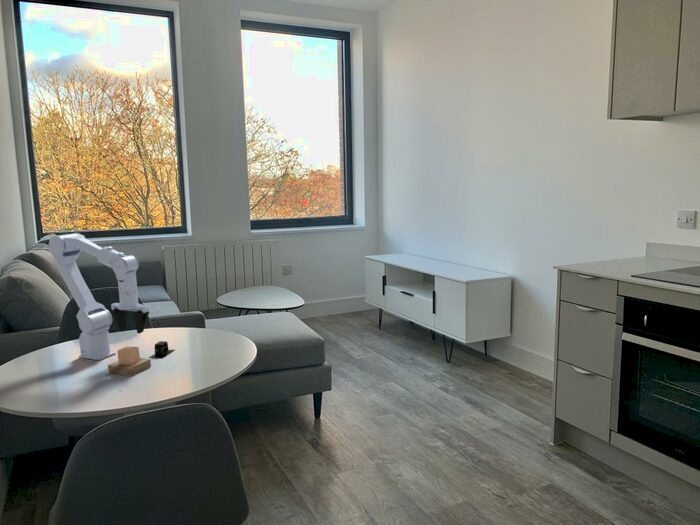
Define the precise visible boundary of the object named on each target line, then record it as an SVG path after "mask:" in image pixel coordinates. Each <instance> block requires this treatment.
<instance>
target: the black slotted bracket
mask: <svg viewBox="0 0 700 525" xmlns="http://www.w3.org/2000/svg"><path fill="white" fill-rule="evenodd" d="M153 348H154V354H152V355H151V356H149V357H148V359H163V360H164V359H165V358H166V357H167V356H169V355H171V354H172V353H173V352H175V351H176V349H169V343H168V341H162V340H160V341H158V342H156V343H154V347H153Z"/></svg>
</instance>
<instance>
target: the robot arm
mask: <svg viewBox="0 0 700 525" xmlns="http://www.w3.org/2000/svg"><path fill="white" fill-rule="evenodd" d="M47 248H48V250H49V252H50V255H51V256H52V258H53V260H54V263H55V266H56V267H57V269H58V271H59V273H60V275H61V277H62V278H63V281H64V282H65V285H66V286H67V288H68V290H69V291H70V294H71V295H72V297H73V300H74V301H75V302H76V304H77V307H78V308H79V309H78V312H77V314H76V316H75V317H76V319H77V321H78V327H79V329H80V330H81V331H82V332H81V333H80V334H79V337H78V338H79V339H78V342H79V351H80V355H78V357H79V358H82V359H87V360H88V359H89V360H94V361H100V360H102V359H105V358H108V357H110V356H113V355H115V354H117V352H116V351H112V350H111V346H110V335H109V334H110V333H109V330H110V326H111V325H112V323H113V319H114V320H115V321H116V325H117V327H118V329H119V332H124V331H126V330H127V318H128V317H127V316H128V315H127V314H128V312H134V313H132V314H131V315H132V317H133V320H134V322H135V327H136V333H137V334H142V333H144V332H145V324H146V322H147V318H148V316H149V314H150V310H149V309H150V308H149V305H146V304H145V305H144V304H142V303H139V295H138V294H139V293H138V283H137V282H138V280H137V273H136V272H137V271H138V269H139V267H140V262H139V260H138V258H137V257H136V256H134V255H133V254H128V255H125V253H123V252H119V251H117V250H115V249H114V247H113V246H110V245H109V246H104V247H102V246H99V245H97V244H96V243H94V242H93V241H91V240H89V239H87V238H86V237H85V235H83V234H81V233H79V232H73V233H66V234H60V235H57V234H56V235H53V236H51V237H50V239H49V242H48V246H47ZM82 252H84V253H86V254H89V255H91V256H93V257H96V259H97V261H98V263H101V264H103V265H104V266H107V267H108V268H111V269H112V270H113V273H114V274H115V278H116V280H117V284H118V285H117V287H118V297H119V302H114V303H111V304H110V306H111V310H113V311H111V312H110V310H108V309H106V307H105V304H102V303H100V302H97V301H96V300H95V298H94V296H93V294H92V292H91V290H90V288H89V286H88V284H87V283H86V282H85V279H84V277H83V276H82V274H81V271H80V270H79V269H78V266H77V265H76V263H75V262H76V260H77V259H78V258H79V256H80V254H81V253H82Z"/></svg>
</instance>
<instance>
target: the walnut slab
mask: <svg viewBox="0 0 700 525" xmlns="http://www.w3.org/2000/svg"><path fill="white" fill-rule="evenodd" d="M151 360H152V359H151V358H145V357H144V358H143V357H140V361H138V362H136V363H134V364H132V365H123V364H119V362H118V360H117V361H115V362H112V363H110V364H108V365H107V369H108V370H107V372H108V374H115V375H121V376H127V377H132V376H133V375H136V374H139V373H140V372H142V371H145V370H148V369H150V368H151V367H152V361H151Z"/></svg>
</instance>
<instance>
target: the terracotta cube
mask: <svg viewBox="0 0 700 525" xmlns="http://www.w3.org/2000/svg"><path fill="white" fill-rule="evenodd" d="M116 353H117V361H118V362H119V364H123V365H132V364H134V363H136V362H138V361H140V358H141V357H140V347H139V346H130V345H129V346H128V345H126V346H124V347H122V348H120V349H118V350H117V352H116Z"/></svg>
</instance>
